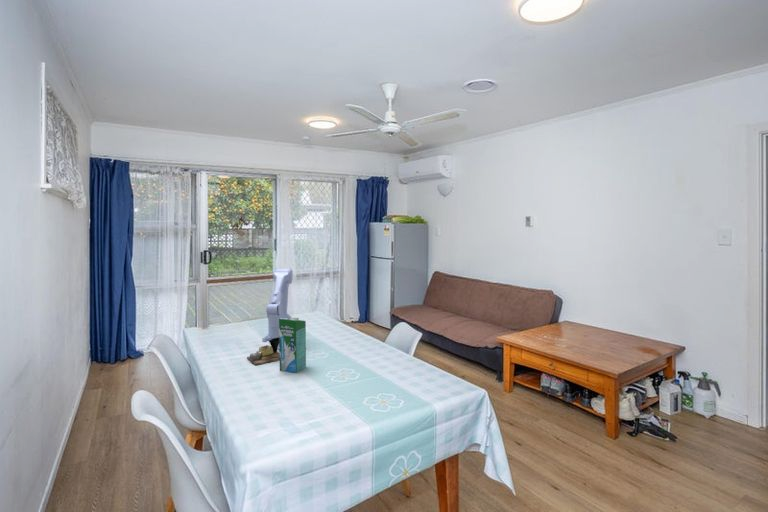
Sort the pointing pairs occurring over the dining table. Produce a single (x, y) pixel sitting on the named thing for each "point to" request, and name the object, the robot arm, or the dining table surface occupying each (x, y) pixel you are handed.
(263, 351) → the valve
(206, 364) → the dining table surface
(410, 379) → the dining table surface
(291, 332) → the milk carton
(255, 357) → the pipe board
